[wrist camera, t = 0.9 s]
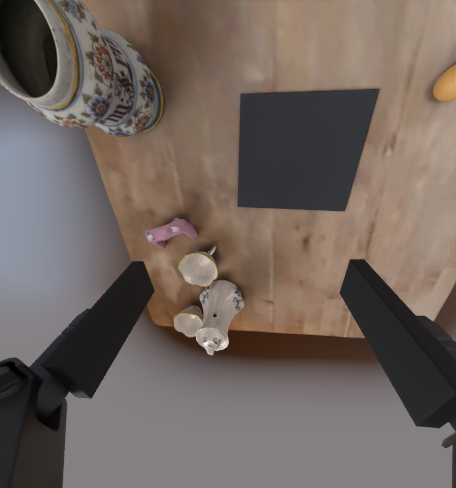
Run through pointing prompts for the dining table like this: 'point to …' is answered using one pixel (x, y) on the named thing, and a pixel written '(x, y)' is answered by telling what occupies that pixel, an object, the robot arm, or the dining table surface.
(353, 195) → the dining table surface
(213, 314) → the chinaware
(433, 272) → the dining table surface
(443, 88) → the figurine
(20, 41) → the apothecary jar
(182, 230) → the video game controller
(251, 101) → the mat
